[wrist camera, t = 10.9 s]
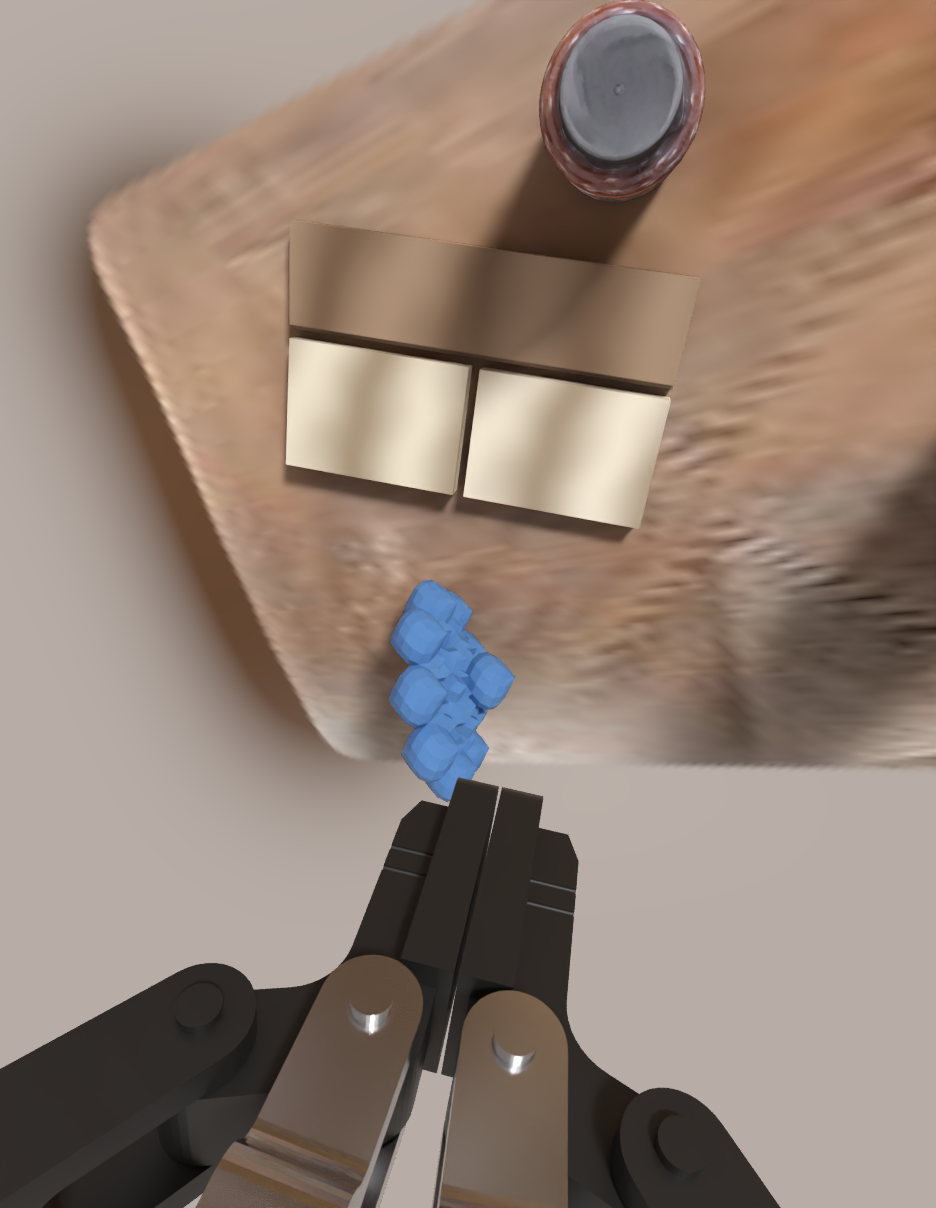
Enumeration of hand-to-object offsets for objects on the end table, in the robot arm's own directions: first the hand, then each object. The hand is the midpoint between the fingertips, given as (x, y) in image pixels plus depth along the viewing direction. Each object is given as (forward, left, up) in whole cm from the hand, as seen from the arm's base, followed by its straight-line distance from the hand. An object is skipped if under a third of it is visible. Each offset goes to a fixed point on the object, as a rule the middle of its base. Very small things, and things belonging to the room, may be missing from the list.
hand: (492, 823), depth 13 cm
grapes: (+4, +15, -31) cm, 35 cm away
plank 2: (+1, +2, -31) cm, 31 cm away
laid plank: (+6, -5, -31) cm, 32 cm away
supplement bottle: (+1, -13, -31) cm, 34 cm away
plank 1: (+12, +2, -31) cm, 33 cm away
